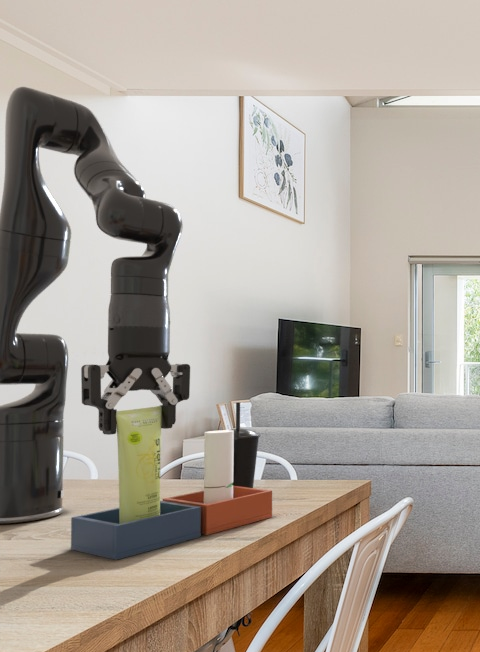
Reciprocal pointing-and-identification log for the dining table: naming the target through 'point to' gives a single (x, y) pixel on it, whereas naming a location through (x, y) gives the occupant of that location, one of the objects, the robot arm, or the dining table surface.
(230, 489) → the tube
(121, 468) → the tube
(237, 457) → the drinking cup
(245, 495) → the terracotta bin
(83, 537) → the blue bin
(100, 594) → the dining table surface
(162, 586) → the dining table surface
